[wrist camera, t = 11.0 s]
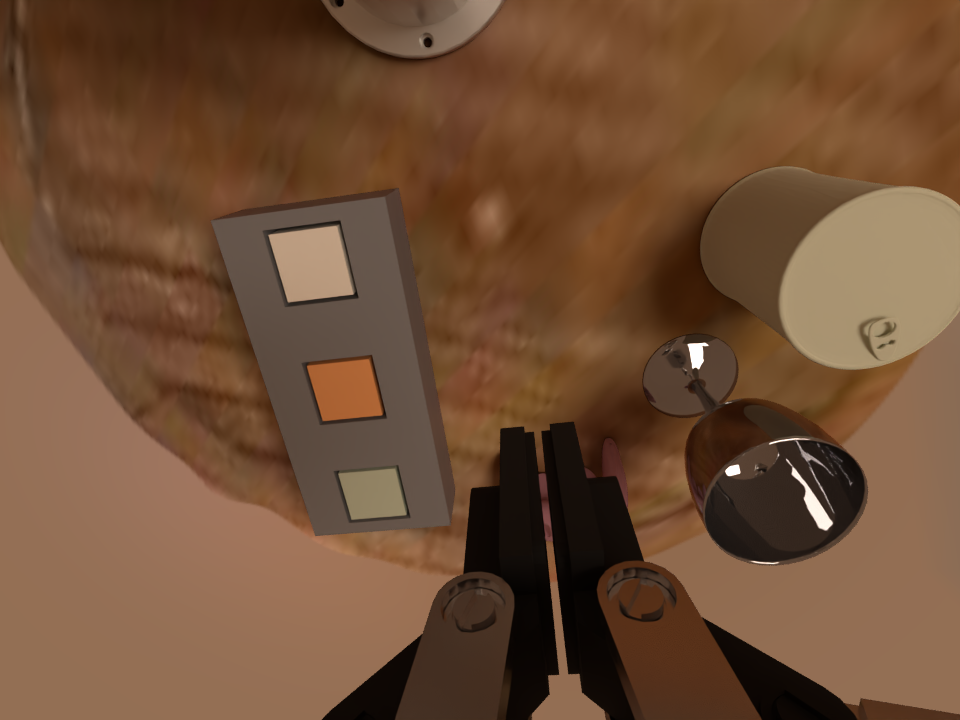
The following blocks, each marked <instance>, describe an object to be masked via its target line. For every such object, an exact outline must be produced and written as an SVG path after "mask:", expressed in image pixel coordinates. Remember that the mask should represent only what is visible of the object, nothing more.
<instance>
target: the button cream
mask: <svg viewBox="0 0 960 720" xmlns="http://www.w3.org/2000/svg"><path fill="white" fill-rule="evenodd" d="M268 236H269V239H270V243H271V246H272V249H273V253H274V256H275V260H276V263H277V266H278V270H279V273H280V277H281V280H282V284H283V287H284V290H285V294H286V297H287V301H288V302H296V301H304V300H312V299H320V298H329V297H337V296H345V295H353V294H354V293H355V292H356V291H357V289H356V285H355V280H354V276H353V272H352V268H351V263H350V259H349V255H348V251H347V246H346V242H345V238H344V234H343V229H342V225H341V221H340V220H338V221H331V222H323V223H316V224H308V225H301V226H294V227H286V228H282V229H280V230H278V231H275V232H273V233H271V234H269V235H268Z"/></svg>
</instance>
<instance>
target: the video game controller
mask: <svg viewBox="0 0 960 720" xmlns="http://www.w3.org/2000/svg"><path fill="white" fill-rule="evenodd" d="M585 472H586V476H587V478H596V476H595V475H594V474H593V473H592V472H591V471H590V470H589V469H587V468H585ZM602 473H603V477H608V476H616V477H617V479H618V481H619V484H620V488H621V491H622V494H623V497H624V500H625V503H626V506H627V507H628V492H627V483H626V477H625V473H624V469H623V465H622V462H621V458H620V454H619V451H618V448H617V446H616V444H615V442H614V441H613V440H612V439H611V438H606V439H605V441H604V444H603V449H602ZM538 475H539V484H540V493H541V502H542V511H543V520H544V529H545V539H546V541H553V538H552V529H551V520H550V510H549V501H548V491H547V481H546V474H545V473H541V474H538Z"/></svg>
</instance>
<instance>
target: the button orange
mask: <svg viewBox="0 0 960 720" xmlns="http://www.w3.org/2000/svg"><path fill="white" fill-rule="evenodd" d="M307 369H308V372H309V375H310V379H311V382H312V386H313V389H314V392H315V396H316V399H317V403H318V406H319V410H320V413H321V416H322V420H323V421H329V420H339V419H349V418H359V417H370V416H380V415H383V412H384V410H385V407H384V403H383V399H382V395H381V390H380V386H379V382H378V378H377V373H376V369H375V365H374V361H373V357H372V355H367V356H358V357H349V358H339V359H330V360H321V361H312V362H310V363H309V364H308V365H307Z"/></svg>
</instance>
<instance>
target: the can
mask: <svg viewBox="0 0 960 720" xmlns="http://www.w3.org/2000/svg"><path fill="white" fill-rule="evenodd" d="M700 257H701V262H702V266H703V269H704V271H705V274H706V276H707V277H708V279H709V281H710V282H711V283H712V284H713V286H714V287H715V288H716V289H717V290H719V291H720V292H721V293H722V294H724V295H725V296H727V297H729V298H731V299H733V300H736V301H737V302H738V303H740V304H741V305H742V306H744V307H745V308H746V309H748V310H749V311H750V312H752V313H753V314H754V315H756V316H757V317H758V318H759V319H761V320H762V321H763V322H765V323H766V324H767V325H768V326H770V327H771V328H772V329H774V330H775V331H776V332H777V333H779V334H780V335H781V336H782V337H784V338H785V339H786V340H787V341H788V342H790V343H791V345H792V346H793V347H794V348H795V349H796V350H797V351H798V352H799V353H801V354H802V355H804V356H805V357H806V358H808V359H810V360H812V361H814V362H816V363H818V364H821V365H824V366H827V367H831V368H837V369H848V370H855V369H866V368H873V367H877V366H882V365H885V364H888V363H891V362H894V361H896V360H899V359H901V358H903V357H905V356H907V355H909V354H911V353H913V352H915V351H917V350H918V349H920V348H921V347H923V346H924V345H926V344H927V343H928V342H930V341H931V340H932V339H934V338H935V337H936V336H937V335H938V334H939V333H941V332H942V331H943V330H944V329H945V328H946V327H947V326H948V324H949V323H950V322H951V321H952V320H953V319H954V318H955V316H956V315H957V314H958V312H959V311H960V206H959V205H958V204H957V203H956V202H954V201H953V200H951V199H950V198H949V197H947V196H945V195H943V194H941V193H938V192H936V191H933V190H930V189H926V188H920V187H912V186H892V185H885V184H878V183H872V182H865V181H858V180H852V179H845V178H839V177H833V176H827V175H822V174H817V173H814V172H812V171H809V170H806V169H803V168H799V167H791V166H781V167H773V168H768V169H764V170H761V171H758V172H756V173H753V174H751V175H749V176H747V177H745V178H744V179H742V180H740V181H739V182H737V183H736V184H735V185H733V186H732V187H731V188H730V189H729V190H728V191H726V192H725V193H724V195H723V196H722V197H721V198H720V199H719V200H718V201H717V203H716V204H715V205H714V207H713V209H712V210H711V212H710V214H709V215H708V217H707V219H706V222H705V225H704V227H703V231H702V235H701V241H700Z"/></svg>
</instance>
